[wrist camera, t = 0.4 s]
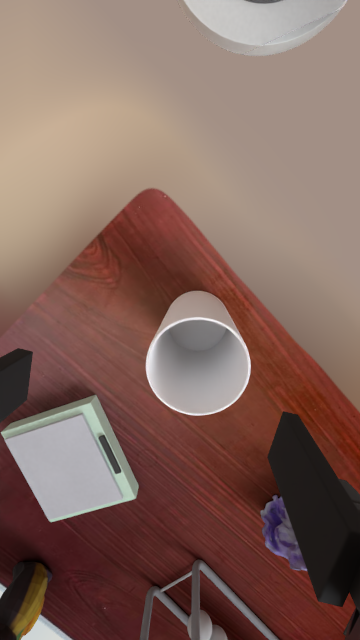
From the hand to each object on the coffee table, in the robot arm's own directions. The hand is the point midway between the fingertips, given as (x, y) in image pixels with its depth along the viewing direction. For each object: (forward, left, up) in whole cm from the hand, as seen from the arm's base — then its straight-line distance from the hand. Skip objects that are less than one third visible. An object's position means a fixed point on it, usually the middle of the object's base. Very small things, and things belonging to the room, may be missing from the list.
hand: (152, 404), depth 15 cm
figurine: (+33, -38, -24) cm, 56 cm away
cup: (+2, +2, -24) cm, 24 cm away
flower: (+34, +6, -24) cm, 42 cm away
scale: (+15, -22, -24) cm, 36 cm away
